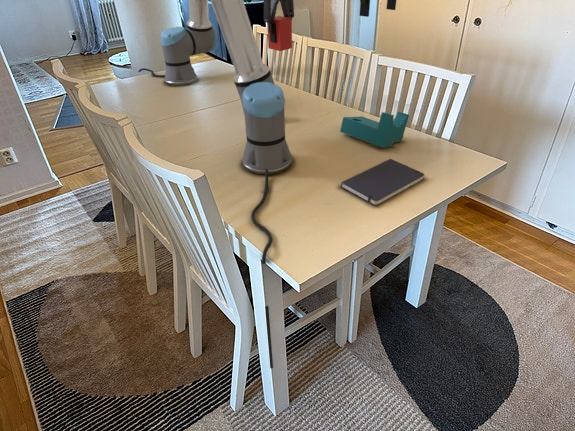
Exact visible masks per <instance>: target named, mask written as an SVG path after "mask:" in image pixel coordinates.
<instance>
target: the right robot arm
mask: <svg viewBox="0 0 575 431" xmlns="http://www.w3.org/2000/svg"><path fill="white" fill-rule="evenodd" d="M209 1H210V4H211V6H212V9H213V12H214V15H215V18H216V21H217V24H218V27H219V28H220V32H221V34H222V38H223V40H224V43H225V45H226V46H225V47H226V49H227V52H228V55H229V57H230V60H231V63H232V65H233V68H234V70H235V75H234V76H233V82H234V85H235V89H236V91H237V93H238V96H239V99H240V102H241V106H242V110H243V115H244V124H245V136H246V137H245V138H246V143H245V146H244V151H243V155H242V166H243V168H244V170H246V171H247V172H249V173H252V174H254V175H255V174H256V175H262V176H265V177H264V191H263V195H262V198H261V200H260V201H259V203H258V204H257V205H256V206H255V207H254V208H253V210H252V212H251V215H250V218H251V221H252V223H253V224H254V225H255V226H256V227H257V228H259V229H260V230H261V231H263V232H264V233H265V234H266V235H267V238H268V242H267V243H266V245H265V246H264V248H263V251H262V256H261V264H262V265H265V264H266V262H267V261H266V260H267V255H268V254H267V253H268V251H269V250H270V247H271V245H272V243H273V236H272V234H271V232H270V231H269V230H268V229H267V228H266V227H265V226H263V225H262V224H260V223H259V222H258V221H257V220H256V218H255V216H256V212H257V211H258V210H259V209H260V208H261V207H262V205H263V204H264V203H265V201H266V198H267V194H268V190H269V189H268V188H269V175H277V174H280V173H283V172H286V171H287V170H289V169H290V167H291V166H292V163H293V157H292V153H291V150H290V148H289V145H288V143H287V140H286V118H285V117H286V115H285V114H286V112H285V104H286V99H285V94H284V90H283V88H282V87H281V86H280V85H278V84H276V83H275V81H274V78H273V74H272V72H271V68H270V66H268V65H266V64H265V63H264V62H263V60H262V56H261V52H260V50H259V46H258V43H257V40H256V37H255V34H254V31H253V27H252V25H251V24H252V23H251V21H250V17H249V15H248V11H247V7H246V6H245V5H246V4H245V2H244V0H209ZM370 8H371V0H359V16H360V17H366V18H369V17H370ZM385 9H386V10H390V11H396V9H397V0H387V1H386V8H385ZM264 309H265V310H264V311H265V325H266V334H267V344H268V345H267V347H268V357H269V358H268V359H269V368H270V369H273V368H274V361H273V346H272V335H271V334H272V333H271V322H270V307H269V305H266V306H264Z"/></svg>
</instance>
